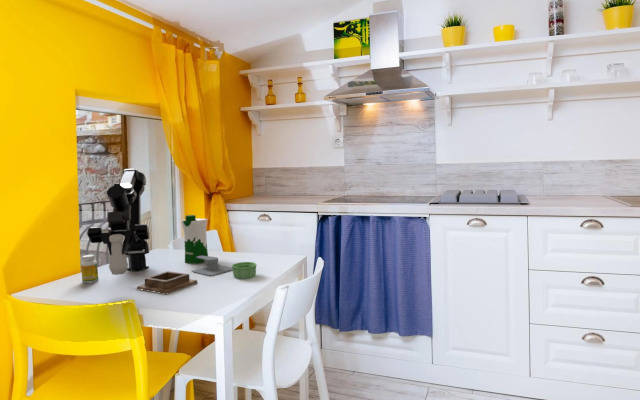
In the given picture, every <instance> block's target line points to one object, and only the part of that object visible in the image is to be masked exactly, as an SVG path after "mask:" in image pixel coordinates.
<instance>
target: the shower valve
mask: <svg viewBox="0 0 640 400" xmlns="http://www.w3.org/2000/svg"><path fill="white" fill-rule="evenodd" d="M196 258H199V259H203V260H205V262H204V263H205V264H206V265H205V266H204V267H200V268H197V269H193V270H191V273H192V272H193V274H197V275H202V276H205V277H206V276H207V277H214V276H219V275H221V274H225V273H229V272H233V268H232V266H226V265H221V264H219V257H216V256H209V255H208V256H197V257H196Z"/></svg>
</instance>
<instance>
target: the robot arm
mask: <svg viewBox="0 0 640 400" xmlns="http://www.w3.org/2000/svg"><path fill="white" fill-rule="evenodd" d="M146 185H147V179H146V176H145V174H144V173H143V172H141V171H139V170H138V169H137V168H125V169H123V171H122V177H121V180H120V183H113V185H112V186H110V187H109V188H108V189H107V190H106V196H107V199H108V201H109V203H110V207H111V208H112V211H108V212H107V219H106V222H107V223H108V224H107V225H108V228H102V226H94V227H93V226H91V227H88V229H87V231H86V234H87V238H88V239H89V241H90V242H89V243H93V244H98V243H99V244H100V243H102V244H103V245H106V246H107V249H108V252H109V255H110V256H111V246H112V243H111V242H110V241H109V237H110V236H111V235H114V234H122V235H123V237H124V240H123V241H122V244H123V247H122V254H123V255H124V254H125V255H126V256H127V257H128V258H127V262H128V268H127V271H133V272H139V271H142V270H146V269H148V268H150V266H149V265H147V259H146V255H148V254H150V249H149V242H148V241H147V240H150V230H149V226H148V224H147V223H146V224H145V223H143V224H141V223H142V222H141V218H142V217H141V216H142V215H141V209H142V208H141V196H142V195H143V193H144V192H145V188H146V187H145V186H146Z"/></svg>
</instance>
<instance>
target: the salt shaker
mask: <svg viewBox="0 0 640 400" xmlns="http://www.w3.org/2000/svg"><path fill="white" fill-rule="evenodd" d="M123 240H124V236H123V235H122V234H114V235H111V236H110V237H109V241H110V242H111V243H112V246H111V256H110V257H109V262H108V263H109V265H108V269H109V271H110V272H111V275H114V276H117V275H123V274H126V273H127V271H128V270H127V268H129V262H128V258H127V255H125V254H124V255H123V254H122V247H123Z"/></svg>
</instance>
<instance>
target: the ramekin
mask: <svg viewBox="0 0 640 400" xmlns="http://www.w3.org/2000/svg"><path fill="white" fill-rule="evenodd" d="M231 267H232V268H233V271H232V275H233V277H234V279H237V280H238V279H239V280H248V279H253V278H255V276H256V273H257V263H256V262H253V261H240V262H236V263H234V264H232V265H231Z"/></svg>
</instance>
